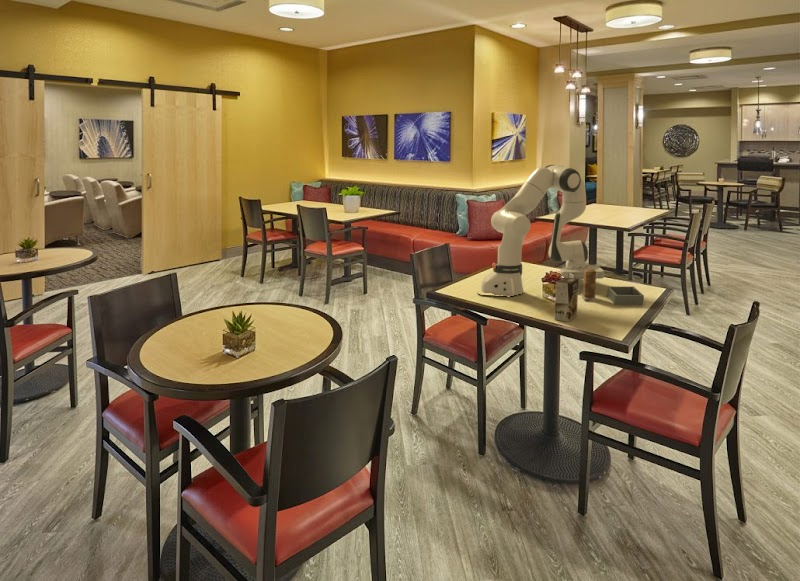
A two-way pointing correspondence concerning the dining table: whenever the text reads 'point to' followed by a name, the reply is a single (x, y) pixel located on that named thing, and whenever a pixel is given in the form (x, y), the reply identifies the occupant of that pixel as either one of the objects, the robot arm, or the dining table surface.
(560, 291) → the coffee box
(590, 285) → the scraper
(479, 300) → the dining table surface
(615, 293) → the tray
